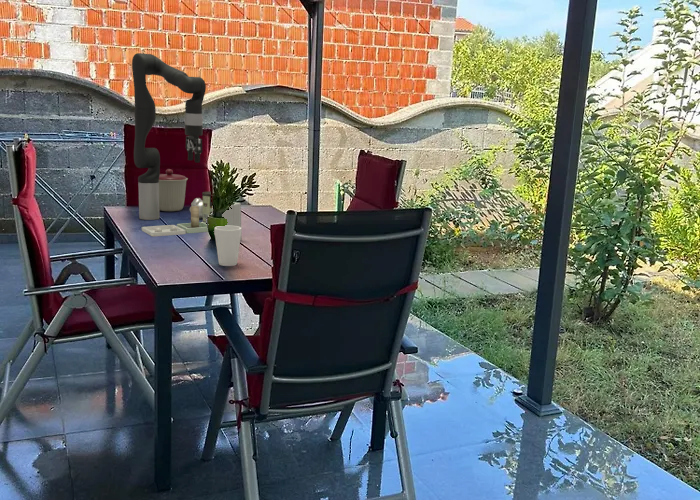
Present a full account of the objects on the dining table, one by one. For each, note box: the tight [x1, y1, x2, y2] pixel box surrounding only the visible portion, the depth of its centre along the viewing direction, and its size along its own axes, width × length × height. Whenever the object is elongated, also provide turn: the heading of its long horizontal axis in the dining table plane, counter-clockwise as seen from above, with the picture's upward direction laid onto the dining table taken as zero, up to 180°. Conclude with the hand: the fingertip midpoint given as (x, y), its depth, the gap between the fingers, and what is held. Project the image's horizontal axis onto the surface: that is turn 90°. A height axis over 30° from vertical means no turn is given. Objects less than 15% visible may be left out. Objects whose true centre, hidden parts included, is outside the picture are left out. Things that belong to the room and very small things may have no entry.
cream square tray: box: [141, 224, 187, 237], centre depth 278 cm, size 14×14×2 cm
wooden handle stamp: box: [186, 205, 201, 228], centre depth 285 cm, size 6×6×10 cm
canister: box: [159, 168, 189, 212], centre depth 336 cm, size 18×18×21 cm
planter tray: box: [176, 221, 209, 234], centre depth 286 cm, size 12×12×3 cm
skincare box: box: [222, 202, 243, 241], centre depth 271 cm, size 8×7×16 cm
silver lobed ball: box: [189, 197, 203, 220], centre depth 318 cm, size 9×10×10 cm
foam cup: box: [213, 225, 243, 267], centre depth 232 cm, size 10×9×13 cm
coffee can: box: [202, 190, 213, 223], centre depth 309 cm, size 10×10×14 cm
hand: (193, 161), depth 290 cm, fingers open, 8 cm apart
